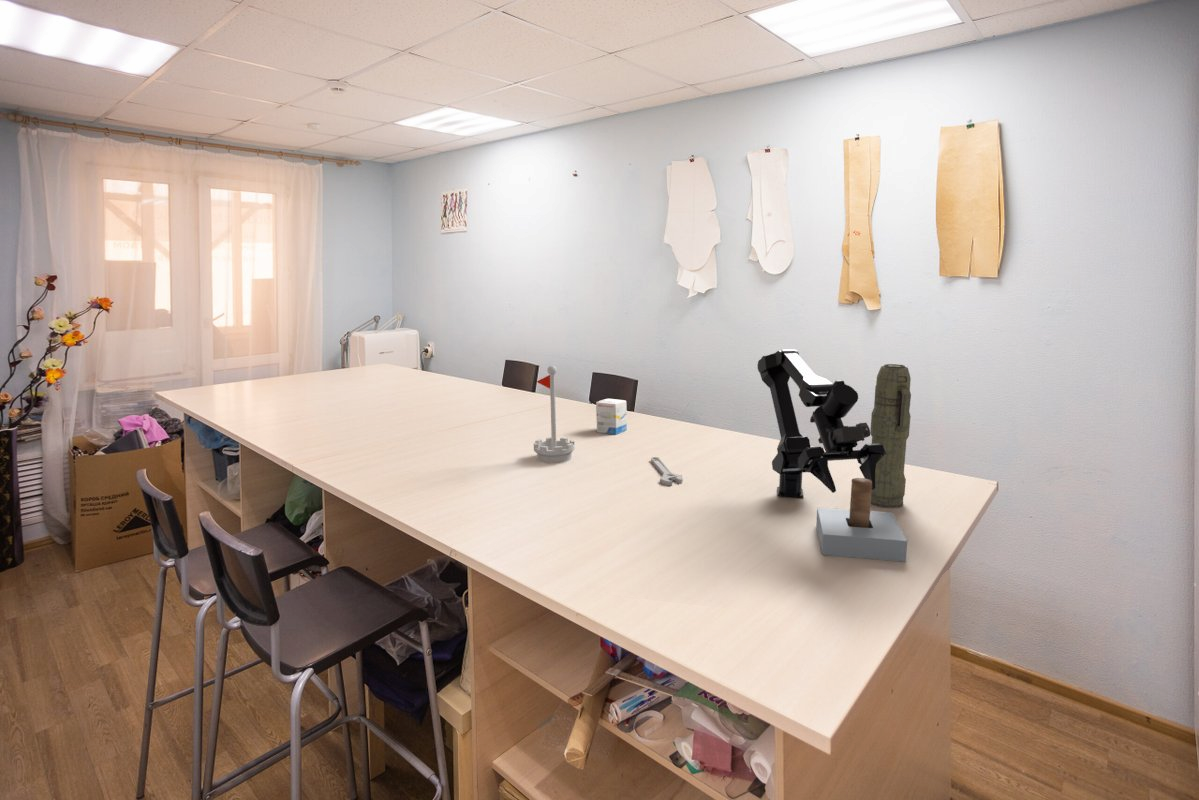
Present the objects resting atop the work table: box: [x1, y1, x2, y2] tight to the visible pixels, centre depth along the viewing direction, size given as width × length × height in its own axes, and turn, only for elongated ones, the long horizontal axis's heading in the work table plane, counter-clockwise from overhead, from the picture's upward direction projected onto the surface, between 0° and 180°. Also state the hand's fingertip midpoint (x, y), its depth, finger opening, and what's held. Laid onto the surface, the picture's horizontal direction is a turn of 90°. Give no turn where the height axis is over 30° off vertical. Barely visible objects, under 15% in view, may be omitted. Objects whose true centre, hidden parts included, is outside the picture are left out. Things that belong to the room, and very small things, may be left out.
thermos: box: [870, 363, 912, 509], centre depth 161 cm, size 9×12×35 cm
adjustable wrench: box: [650, 456, 684, 487], centre depth 192 cm, size 25×6×2 cm, turn 4°
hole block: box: [815, 507, 908, 563], centre depth 140 cm, size 16×16×4 cm
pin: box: [849, 477, 872, 528], centre depth 139 cm, size 4×4×13 cm
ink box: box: [595, 398, 628, 435], centre depth 242 cm, size 9×8×12 cm
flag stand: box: [533, 365, 576, 464], centre depth 206 cm, size 13×13×30 cm
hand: (854, 490), depth 141 cm, fingers open, 9 cm apart
